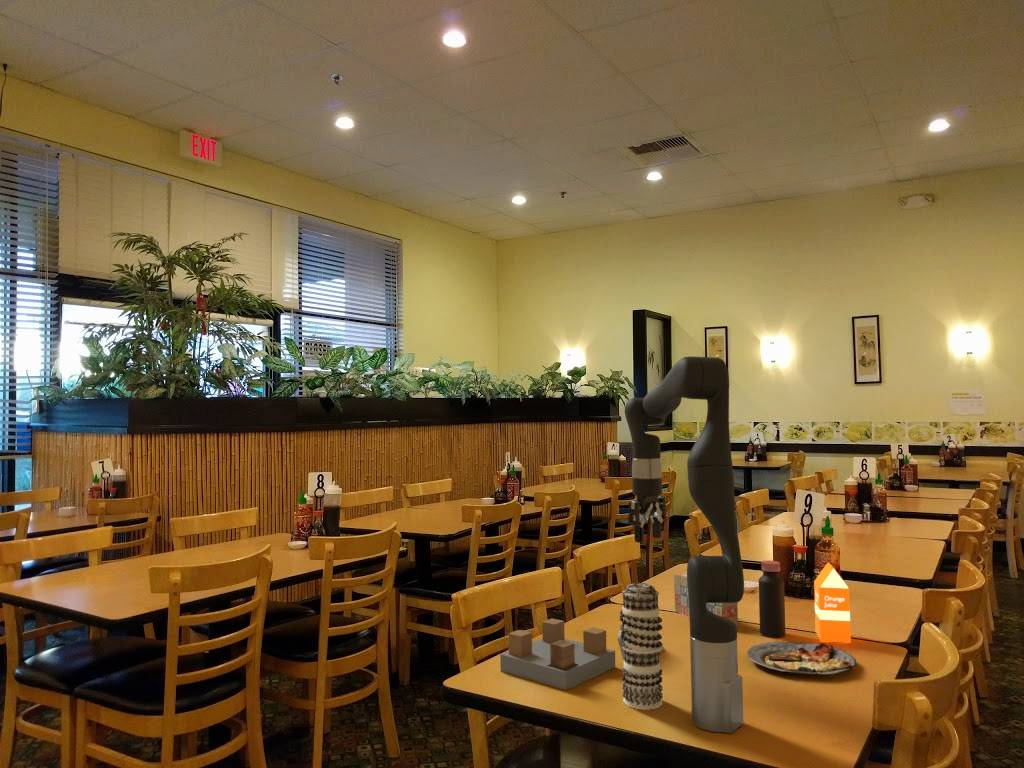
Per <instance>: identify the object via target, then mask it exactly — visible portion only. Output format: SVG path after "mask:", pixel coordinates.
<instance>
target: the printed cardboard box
mask: <svg viewBox="0 0 1024 768" xmlns="http://www.w3.org/2000/svg"><path fill="white" fill-rule="evenodd" d="M673 590H674V592H673V593H674V612H675V611H676V612H678V613H677V614H679V613H681V614H684V615H686V616H689V597H688V585H687V571H682V572H677V573H676V572H675V573H673ZM738 605H739V602H736V603H707V609H708V610H709V611H710V612H712V613H714V614H716V615H719V616H721V617H724V618H727V619H729V620H731V621H733V622H734V623H735V624H736V627H738V626H739V619H738V616H739V613H738V612H739V610H738V607H739V606H738ZM676 612H675V613H676ZM681 614H680V615H681ZM684 615H683V616H684ZM686 616H685V617H686Z"/></svg>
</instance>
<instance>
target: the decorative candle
mask: <svg viewBox="0 0 1024 768" xmlns="http://www.w3.org/2000/svg"><path fill="white" fill-rule="evenodd" d="M621 594H622V597H623V599H622V604H623V605H622V609H621V610H620V611H619V614H620V615H619V621H620V622H621V624H620V625H619V626H620V629H621V631H622V632H621V637H622V638H623V641H622V648H623V649H624V660H623V667H622V670H621V672H622V674H623V675H622V679H621V680H622V681H624V682H623V683H622V685H621V689H622V697H623V700H622V703H623V702H624V703H625V704H626V705H627V706H626V705H625V704H624V703H623V704H624V705H625V706H626V707H628V706H629V707H628V708H630V707H631V708H630V709H633V708H635V709H634V710H638V709H639V710H640V711H650V709H653V710H656V709H660V708H661V707H662V706H663V692H662V691H663V685H662V683H663V677H662V675H663V670H662V669H661V661H660V653H659V651H660V650H661V646H662V644H663V642H662V641H661V640H662V638H663V636H662V634H661V633H659V631H661V630H663V626H662V625H661V624H660V623H662V622H663V619H662V617H660V616H659V615H660V606H659V595H660V592H659V591H658V590H656V588H655V586H654V585H652V584H649V583H642V582H635V583H630V584H628V585H627V586H626V587H625V589H624V590H622V591H621ZM624 635H625V636H624ZM658 640H659V641H658ZM660 641H661V642H662V643H661V642H660ZM641 709H642V710H641ZM639 710H638V711H639Z"/></svg>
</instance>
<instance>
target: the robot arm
mask: <svg viewBox="0 0 1024 768" xmlns="http://www.w3.org/2000/svg"><path fill="white" fill-rule="evenodd" d="M729 377H730V376H729V371H728V367H727V364H726V362H725V360H724V359H722V358H719V357H711V356H710V357H708V356H684V357H682V358H680V359H678V360H677V361H676V363H674V365H673V366H672V367H671V369H670V370H669V371H668V373H667V374H666V375H665V377H664V378H663V380H662V381H661V383H660V384H659V385H657V386H656V387H655V388H653V389H652V390H651V391H649V392H648V393H647V394H646V395H645V396H644V397H632V398H630V399H629V400H627V402H626V404H625V407H624V415H625V420H626V423H627V426H628V429H629V432H630V437H631V443H632V464H631V482H632V483H631V484H632V485H631V488H632V489H631V491H632V494H633V495H635V496H636V500H629V502H628V525H629V526H632V527H633V528H634V529H633V530H634V534H633V535H634V542H636V543H638V544H640V543H641V544H642V543H644V541H645V539H644V536H645V535H644V534H645V533H644V530H645V529H644V525H645V522H646V521H647V520H648V519H649V517H650V519H651V522H652V523H651V525H652V526H651V527H652V528H651V529H652V531H651V533H652V534H651V535H652V538H653V539H661V538H662V523H663V522H664V521H666V520H667V504H666V496H662V494H663V467H662V462H661V461H662V460H661V459H662V458H661V456H662V455H661V439H660V437H659V436H658V435H655V434H651V433H646V432H645V431H644V428H643V426H657V425H662V424H664V423H665V422H666V420H667V417H668V415H670V414H671V413H673V412H674V411H676V410H677V409H678V408H679V406H680V405H681V402H682V399H689V400H704V401H706V404H707V410H706V411H707V414H706V420H705V424H704V426H703V429H701V432H700V434H699V435H698V438H697V439H696V441H695V442H694V445H693V446H692V448H691V450H690V452H689V454H688V458H687V462H686V463H687V466H686V469H687V481H688V491H689V494H690V497H691V498H692V500H693V502H694V503H695V505H696V506H697V508H698V509H699V510H700V512H701V513H702V514H703V515H704V517H705V518H706V520H707V521H708V523H709V524H710V526H711V527H712V529H713V531H714V532H715V534H716V537H717V539H718V543H719V546H720V549H721V555H696V556H691V557H690V558H689V559H688V561H687V565H686V566H687V567H686V572H687V585H688V597H689V617H688V619H689V640H690V641H689V646H690V647H689V648H690V649H689V651H690V690H691V695H690V696H691V721H692V723H693V725H695V726H696V727H697V728H700V729H701V730H705V731H709V732H715V733H726V734H732V733H733V732H735V731H736V730H737V729H738V728H740V727H741V726H743V725H744V704H743V703H744V699H743V696H744V693H743V692H744V691H743V689H744V687H743V677H742V676H743V675H740V674H739V667H738V666H739V665H738V664H739V663H738V661H739V659H738V658H739V657H738V626H736V624H735V623H734V622H733V621H731V620H729V619H727V618H724V617H721V616H719V615H716V614H714V613H712V612H710V611H709V610H708V609H707V603H736V602H738V603H740V602H741V601H742V600H743V597H744V592H745V577H744V569H743V563H742V555H741V549H740V548H741V547H740V542H739V534H738V528H737V517H736V516H737V514H736V513H737V512H736V501H735V500H736V499H735V479H734V478H735V477H734V468H733V459H732V451H731V450H732V449H731V437H730V436H731V435H730V378H729ZM660 495H661V496H660Z"/></svg>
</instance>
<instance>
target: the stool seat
mask: <svg viewBox="0 0 1024 768" xmlns="http://www.w3.org/2000/svg"><path fill="white" fill-rule="evenodd" d="M541 624H542V627H541V628H542V638H541V639H538V640H535V641H533V633H532V632H530V631H526V630H522V629H517V630H514V631H512V632H509V633H508V651H506V652H503V653H500V665H499V666H500V672H502V673H505V674H509V675H513V676H515V677H519V676H520V678H523V677H524V678H523V679H526V678H527V679H526V680H529V679H530V681H533V680H534V681H533V682H536V681H537V683H539V682H540V684H543V685H546V684H547V686H549V685H551V686H550V687H553V686H554V687H553V688H556V687H557V689H560V690H563V689H564V690H563V691H567V689H568V690H570V689H572V688H574V687H576V686H577V685H580V684H582V683H585V682H587V681H589V680H591V679H593V678H595V677H597V676H599V675H601V673H602V674H603V672H604V673H606V672H608V671H610V670H612V669H614V668H616V650H614V649H610V648H607V630H606V629H602V628H598V627H590V628H588V629H585V630H583V631H582V632H583V642H582V641H581V642H580V641H578V640H577V641H576V640H573V639H567V638H565V620H561V619H555V618H553V617H552V618H550V619H547V620H543V621H542V622H541ZM559 640H564V641H568V642H572V643H574V654H575V667H572V668H570V669H568V670H566V671H564V670H560V669H557V668H553V667H551V662H550V644H551V643H554V642H556V641H559ZM609 669H610V670H609ZM607 670H608V671H607ZM605 671H606V672H605ZM594 676H595V677H594ZM590 678H591V679H590ZM588 679H589V680H588ZM584 681H585V682H584ZM573 686H574V687H573ZM571 687H572V688H571ZM569 688H570V689H569Z"/></svg>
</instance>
